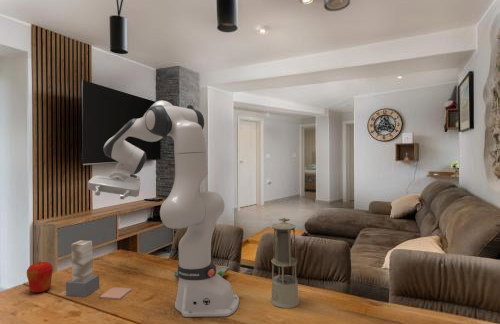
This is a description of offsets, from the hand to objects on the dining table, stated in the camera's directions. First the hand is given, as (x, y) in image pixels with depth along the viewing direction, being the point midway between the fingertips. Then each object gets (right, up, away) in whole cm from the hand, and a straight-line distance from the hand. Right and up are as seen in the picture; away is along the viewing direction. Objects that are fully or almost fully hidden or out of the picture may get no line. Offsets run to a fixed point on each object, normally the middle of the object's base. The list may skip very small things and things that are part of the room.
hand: (109, 195), depth 125 cm
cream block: (-8, -31, -4) cm, 33 cm away
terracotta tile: (+5, -36, -6) cm, 37 cm away
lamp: (+68, -36, -12) cm, 78 cm away
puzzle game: (+36, -36, +9) cm, 51 cm away
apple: (-25, -37, -3) cm, 45 cm away
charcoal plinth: (-8, -36, -4) cm, 38 cm away
